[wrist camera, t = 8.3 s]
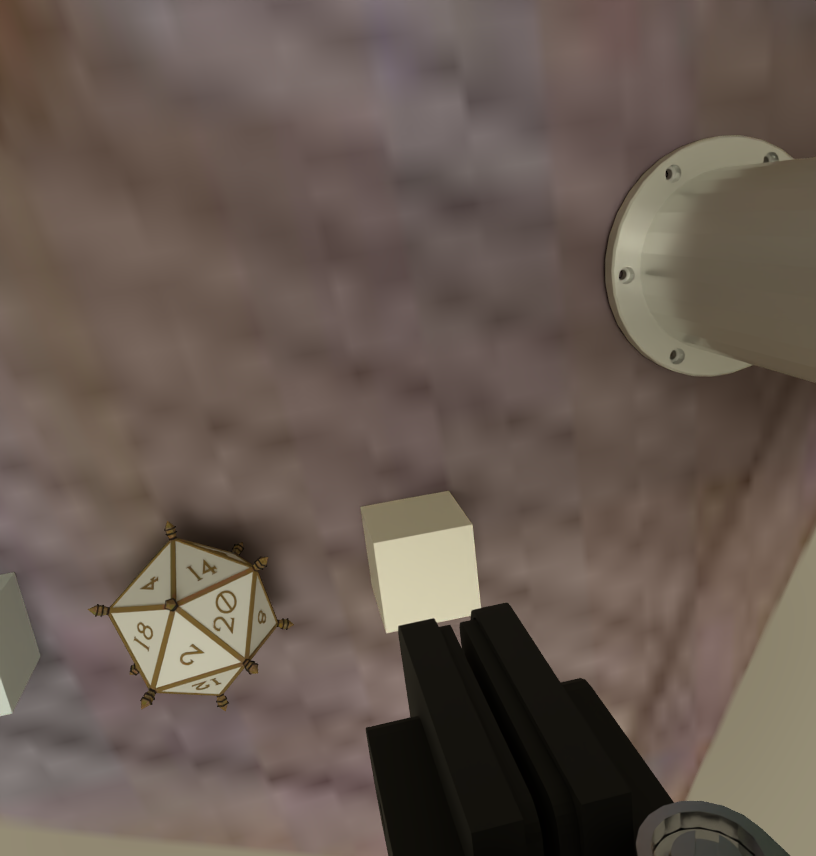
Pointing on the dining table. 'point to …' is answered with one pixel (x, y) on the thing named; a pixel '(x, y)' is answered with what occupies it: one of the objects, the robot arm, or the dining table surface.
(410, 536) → the off-white block
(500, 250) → the dining table surface
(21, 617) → the grey-green block
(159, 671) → the game die
